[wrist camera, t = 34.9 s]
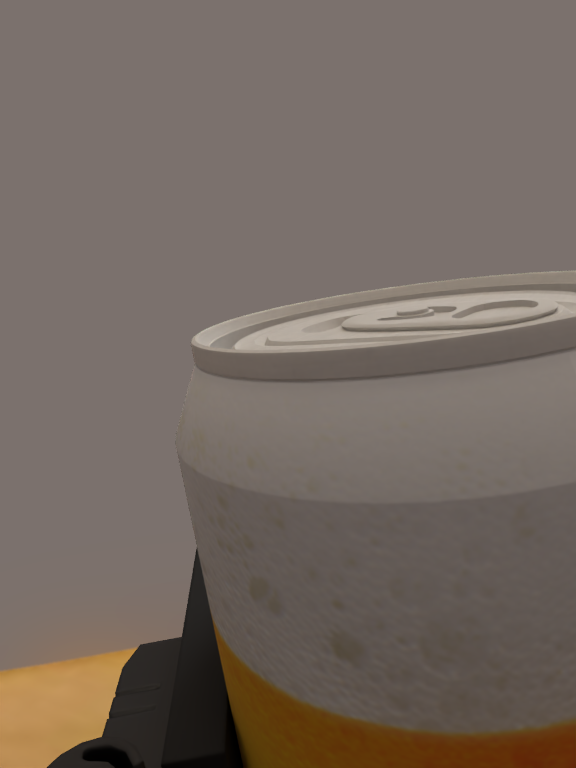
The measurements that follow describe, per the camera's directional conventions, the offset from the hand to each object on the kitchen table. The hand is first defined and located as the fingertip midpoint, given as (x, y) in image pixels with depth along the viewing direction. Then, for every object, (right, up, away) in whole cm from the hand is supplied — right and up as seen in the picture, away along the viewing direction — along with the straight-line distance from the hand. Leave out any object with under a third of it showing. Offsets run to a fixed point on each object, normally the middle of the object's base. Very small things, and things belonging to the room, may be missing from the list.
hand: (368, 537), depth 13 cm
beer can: (+2, -10, -3) cm, 11 cm away
